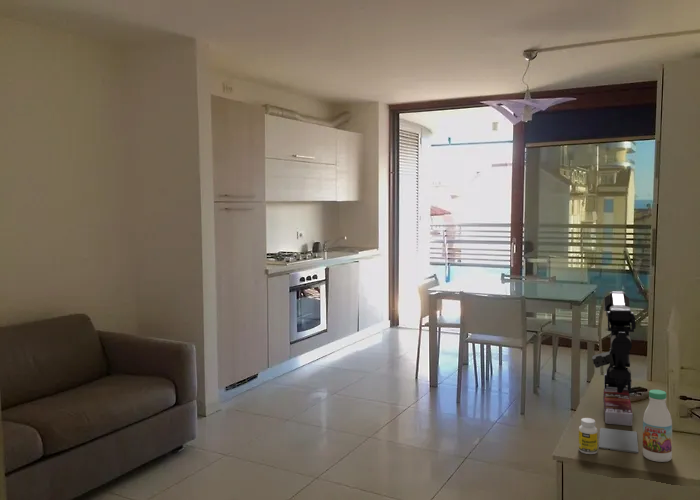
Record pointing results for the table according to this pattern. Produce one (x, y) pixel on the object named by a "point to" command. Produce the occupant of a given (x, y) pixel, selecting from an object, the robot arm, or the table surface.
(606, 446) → the mat
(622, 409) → the supplement box
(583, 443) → the supplement bottle
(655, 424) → the milk bottle
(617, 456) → the table surface
